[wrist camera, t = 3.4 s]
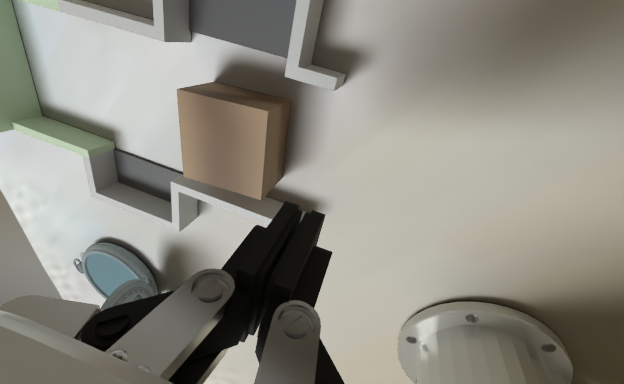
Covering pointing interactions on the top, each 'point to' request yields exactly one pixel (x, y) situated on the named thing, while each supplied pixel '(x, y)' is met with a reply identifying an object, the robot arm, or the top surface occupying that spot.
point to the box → (168, 28)
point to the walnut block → (233, 137)
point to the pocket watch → (116, 274)
